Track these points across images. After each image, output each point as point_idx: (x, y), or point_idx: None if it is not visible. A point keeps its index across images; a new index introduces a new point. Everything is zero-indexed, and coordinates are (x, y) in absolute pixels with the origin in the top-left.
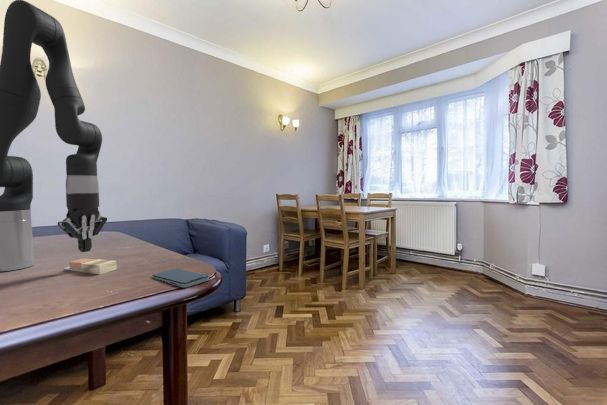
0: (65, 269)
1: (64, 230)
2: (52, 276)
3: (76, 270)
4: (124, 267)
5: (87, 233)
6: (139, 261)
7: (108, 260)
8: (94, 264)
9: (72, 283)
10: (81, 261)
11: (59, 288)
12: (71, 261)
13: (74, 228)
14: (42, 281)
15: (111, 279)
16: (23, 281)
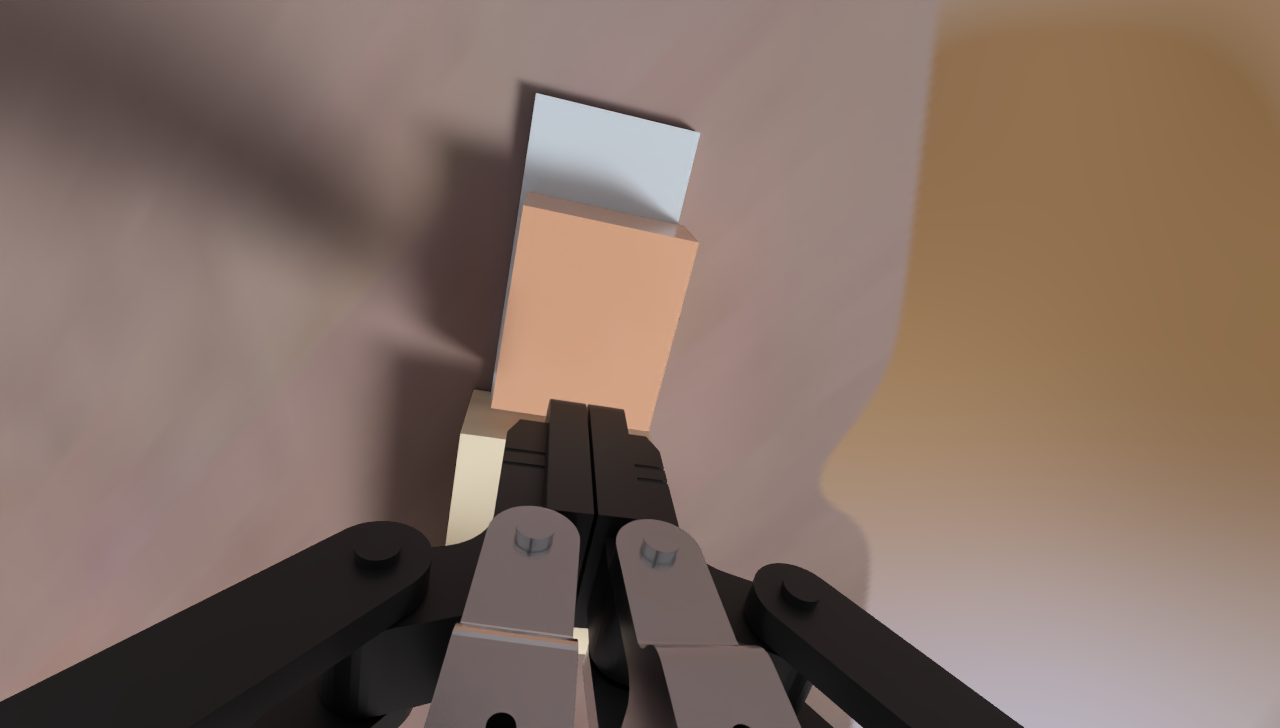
0: (532, 123)
1: (51, 717)
2: (290, 214)
3: (505, 300)
4: None
5: (592, 708)
6: (847, 590)
7: None
8: None
9: (198, 566)
10: (554, 347)
11: (72, 575)
12: (539, 222)
13: (438, 681)
14: (132, 271)
15: None
16: (40, 46)
